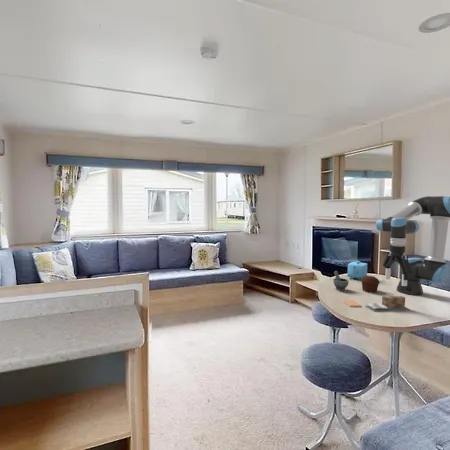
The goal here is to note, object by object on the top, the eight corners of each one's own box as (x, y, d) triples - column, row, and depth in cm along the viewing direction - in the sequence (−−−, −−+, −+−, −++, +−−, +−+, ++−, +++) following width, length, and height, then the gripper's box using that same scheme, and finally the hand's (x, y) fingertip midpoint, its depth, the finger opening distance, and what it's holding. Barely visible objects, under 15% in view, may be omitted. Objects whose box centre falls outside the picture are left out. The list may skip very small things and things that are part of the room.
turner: (398, 304, 182) (399, 294, 181) (407, 309, 175) (407, 298, 174) (366, 305, 179) (367, 295, 178) (374, 310, 172) (375, 299, 172)
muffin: (360, 292, 208) (361, 277, 208) (359, 287, 219) (360, 273, 218) (380, 294, 205) (381, 279, 204) (378, 289, 215) (378, 275, 214)
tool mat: (400, 305, 183) (400, 304, 183) (410, 310, 175) (410, 309, 175) (365, 306, 179) (365, 305, 179) (373, 311, 171) (374, 310, 171)
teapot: (353, 275, 256) (354, 258, 255) (367, 277, 250) (368, 260, 248) (344, 280, 239) (345, 262, 238) (360, 282, 232) (361, 264, 231)
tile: (354, 300, 188) (342, 300, 187) (361, 305, 179) (349, 305, 178) (353, 302, 188) (342, 302, 187) (361, 307, 179) (349, 307, 178)
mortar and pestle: (351, 290, 211) (352, 273, 210) (340, 292, 207) (341, 274, 206) (338, 286, 221) (339, 269, 220) (328, 287, 217) (329, 270, 216)
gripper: (377, 242, 186) (375, 277, 188) (407, 249, 162) (405, 289, 164) (388, 242, 188) (387, 276, 189) (420, 248, 163) (418, 288, 165)
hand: (395, 282), depth 177 cm, fingers open, 13 cm apart
